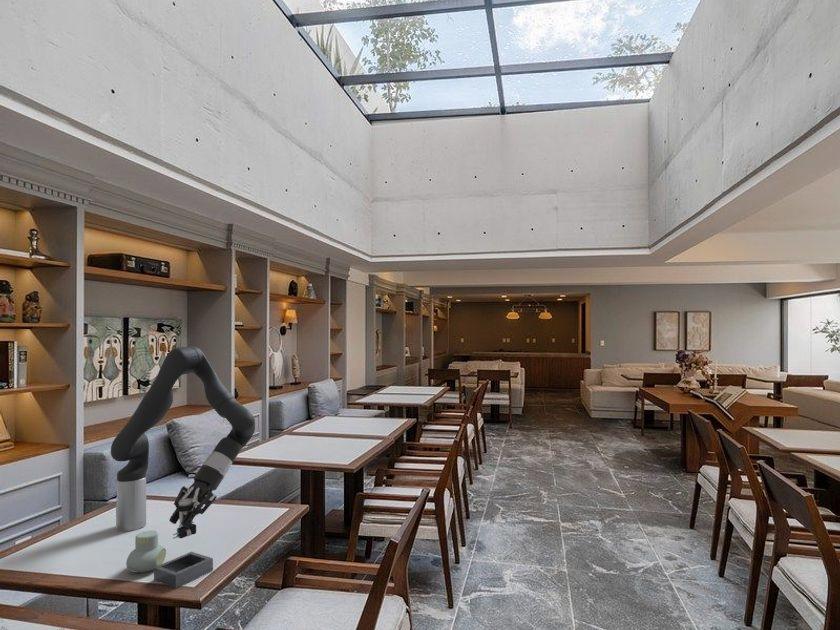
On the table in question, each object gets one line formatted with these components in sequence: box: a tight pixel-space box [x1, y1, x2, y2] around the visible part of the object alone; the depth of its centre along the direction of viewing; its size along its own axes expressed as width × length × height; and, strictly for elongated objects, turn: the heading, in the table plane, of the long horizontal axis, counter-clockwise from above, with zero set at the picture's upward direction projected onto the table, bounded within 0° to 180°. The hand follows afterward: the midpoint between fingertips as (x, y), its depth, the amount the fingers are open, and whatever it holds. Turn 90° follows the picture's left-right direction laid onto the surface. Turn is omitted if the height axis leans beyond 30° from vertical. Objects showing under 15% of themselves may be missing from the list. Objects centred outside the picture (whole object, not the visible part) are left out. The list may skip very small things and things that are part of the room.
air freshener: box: [125, 530, 167, 573], centre depth 152 cm, size 11×8×10 cm
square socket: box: [153, 551, 214, 589], centre depth 147 cm, size 10×12×4 cm
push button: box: [172, 498, 197, 539], centre depth 148 cm, size 7×5×10 cm
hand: (178, 523), depth 146 cm, fingers closed on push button, 4 cm apart
